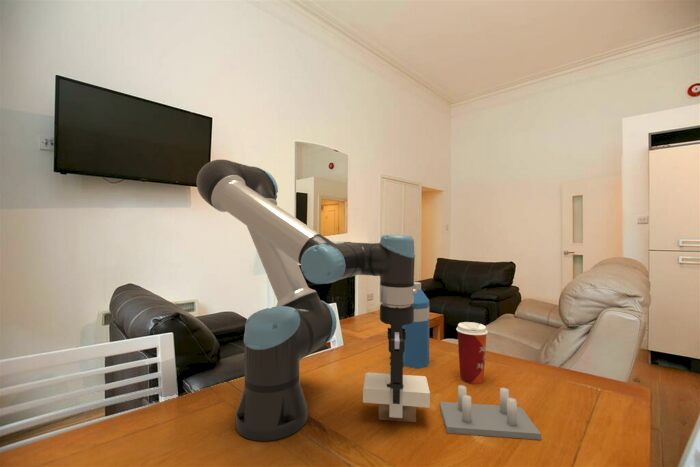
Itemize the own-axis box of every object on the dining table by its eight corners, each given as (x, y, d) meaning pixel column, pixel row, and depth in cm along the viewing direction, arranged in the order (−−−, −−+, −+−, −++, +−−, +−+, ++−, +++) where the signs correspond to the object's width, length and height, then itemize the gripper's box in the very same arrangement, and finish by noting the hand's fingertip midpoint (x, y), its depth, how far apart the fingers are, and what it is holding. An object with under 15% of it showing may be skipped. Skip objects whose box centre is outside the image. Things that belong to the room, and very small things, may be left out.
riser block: (378, 419, 71) (378, 401, 71) (379, 409, 75) (379, 392, 75) (415, 422, 70) (415, 403, 70) (414, 412, 74) (414, 394, 74)
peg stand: (447, 432, 66) (447, 402, 66) (439, 406, 76) (439, 380, 76) (541, 439, 64) (541, 408, 64) (520, 412, 74) (521, 384, 74)
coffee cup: (490, 387, 86) (490, 330, 86) (458, 384, 87) (458, 328, 87) (484, 373, 94) (484, 322, 94) (454, 371, 96) (454, 320, 96)
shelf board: (362, 402, 69) (363, 388, 69) (365, 384, 77) (365, 372, 77) (429, 407, 68) (430, 393, 68) (425, 389, 76) (425, 376, 76)
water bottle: (432, 368, 98) (432, 285, 98) (401, 368, 98) (401, 285, 98) (426, 356, 107) (426, 280, 107) (397, 356, 107) (397, 280, 107)
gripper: (417, 316, 62) (416, 436, 62) (411, 295, 82) (409, 384, 82) (378, 315, 63) (376, 432, 63) (381, 294, 83) (380, 382, 83)
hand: (395, 405), depth 73 cm, fingers closed on shelf board, 8 cm apart
